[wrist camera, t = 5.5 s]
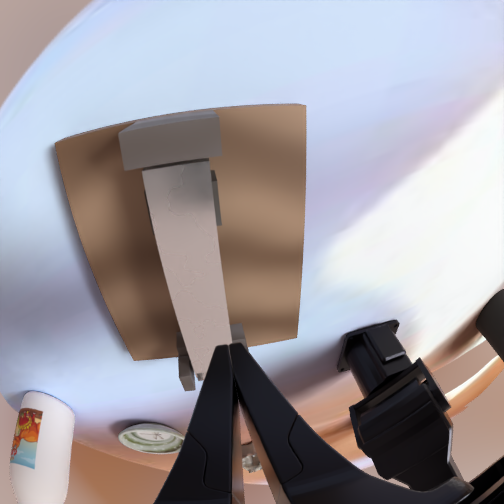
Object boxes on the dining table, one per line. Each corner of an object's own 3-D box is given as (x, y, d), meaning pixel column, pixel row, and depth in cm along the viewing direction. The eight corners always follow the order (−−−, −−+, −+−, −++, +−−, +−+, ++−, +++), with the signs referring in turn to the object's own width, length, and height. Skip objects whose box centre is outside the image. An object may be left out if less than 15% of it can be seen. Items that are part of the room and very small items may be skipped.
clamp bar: (235, 364, 22) (238, 378, 20) (197, 369, 21) (198, 384, 20) (208, 155, 13) (209, 162, 12) (145, 164, 13) (141, 172, 12)
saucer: (106, 415, 30) (105, 431, 28) (177, 411, 31) (177, 428, 29) (135, 442, 35) (135, 455, 33) (195, 438, 36) (197, 452, 34)
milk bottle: (68, 396, 26) (56, 549, 10) (81, 423, 30) (77, 550, 13) (16, 383, 24) (-7, 523, 8) (34, 412, 28) (21, 532, 11)
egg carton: (243, 455, 43) (247, 474, 40) (224, 445, 39) (227, 467, 36) (299, 438, 42) (305, 457, 39) (286, 426, 38) (293, 449, 35)
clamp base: (292, 325, 25) (311, 374, 21) (135, 347, 23) (130, 400, 19) (297, 103, 16) (339, 113, 11) (64, 137, 14) (19, 162, 9)
